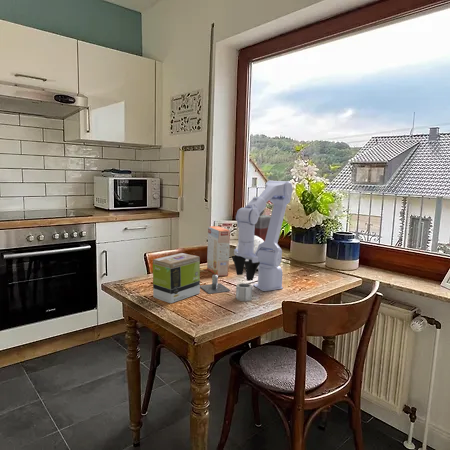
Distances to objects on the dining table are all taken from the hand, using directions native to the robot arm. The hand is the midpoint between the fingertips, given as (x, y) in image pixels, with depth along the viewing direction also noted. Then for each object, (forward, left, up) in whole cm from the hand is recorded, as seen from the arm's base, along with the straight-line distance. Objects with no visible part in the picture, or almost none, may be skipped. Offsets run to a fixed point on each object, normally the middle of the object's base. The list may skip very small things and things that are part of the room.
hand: (244, 277), depth 132 cm
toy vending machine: (-41, -59, -8) cm, 72 cm away
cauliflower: (-27, -38, -8) cm, 47 cm away
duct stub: (+5, -14, -8) cm, 17 cm away
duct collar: (0, 0, -8) cm, 8 cm away
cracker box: (-6, -36, -8) cm, 37 cm away
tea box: (+22, -12, -8) cm, 26 cm away
